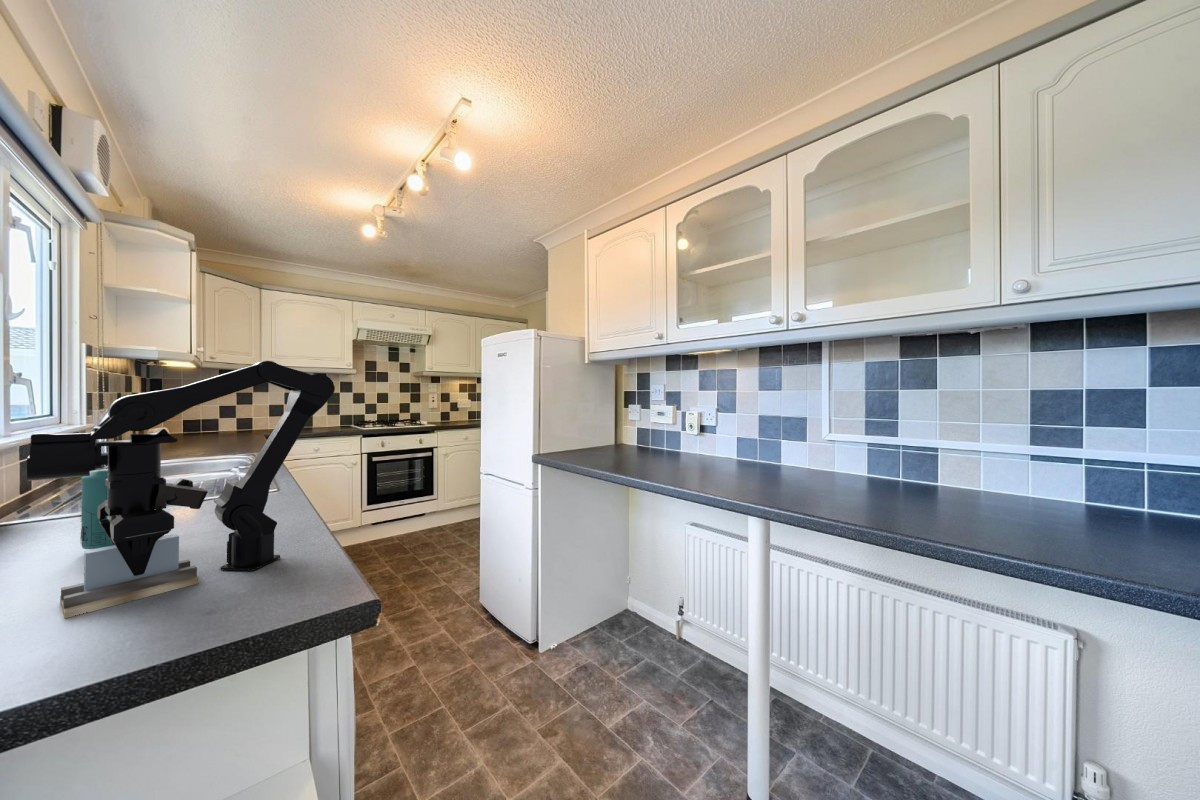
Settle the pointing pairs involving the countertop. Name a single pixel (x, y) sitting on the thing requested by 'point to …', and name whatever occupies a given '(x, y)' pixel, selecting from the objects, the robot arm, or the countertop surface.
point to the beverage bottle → (94, 508)
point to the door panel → (112, 568)
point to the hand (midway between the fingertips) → (133, 567)
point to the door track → (125, 590)
